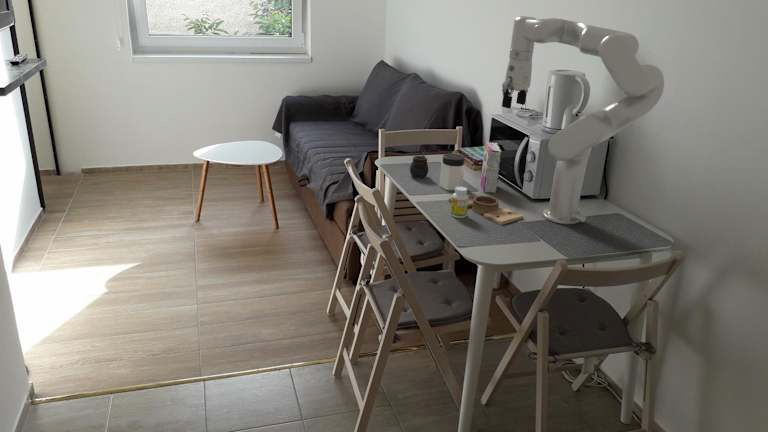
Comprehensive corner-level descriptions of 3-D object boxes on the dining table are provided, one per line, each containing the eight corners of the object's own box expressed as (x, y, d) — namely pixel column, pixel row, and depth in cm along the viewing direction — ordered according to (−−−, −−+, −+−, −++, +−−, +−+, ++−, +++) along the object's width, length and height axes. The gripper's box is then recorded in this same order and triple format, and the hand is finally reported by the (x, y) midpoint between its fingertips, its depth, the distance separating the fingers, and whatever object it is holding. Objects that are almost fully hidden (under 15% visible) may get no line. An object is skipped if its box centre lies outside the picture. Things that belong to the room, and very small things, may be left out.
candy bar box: (479, 182, 247) (484, 141, 241) (492, 183, 247) (497, 142, 241) (483, 192, 237) (488, 150, 231) (496, 193, 237) (502, 151, 231)
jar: (457, 192, 235) (461, 161, 231) (436, 188, 238) (439, 157, 234) (464, 185, 243) (468, 155, 239) (444, 181, 246) (447, 151, 241)
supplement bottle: (467, 218, 212) (470, 191, 208) (451, 217, 212) (453, 190, 208) (465, 212, 217) (468, 186, 213) (449, 211, 217) (452, 185, 213)
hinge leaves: (522, 218, 215) (524, 208, 214) (501, 224, 209) (502, 215, 207) (470, 195, 233) (471, 186, 232) (448, 201, 226) (449, 191, 225)
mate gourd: (407, 178, 247) (409, 153, 243) (412, 172, 254) (414, 148, 250) (425, 181, 245) (427, 156, 241) (429, 175, 252) (431, 151, 248)
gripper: (517, 58, 204) (510, 111, 211) (543, 55, 217) (535, 104, 223) (497, 55, 209) (490, 106, 215) (523, 51, 221) (516, 100, 228)
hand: (513, 105), depth 219 cm, fingers open, 9 cm apart
